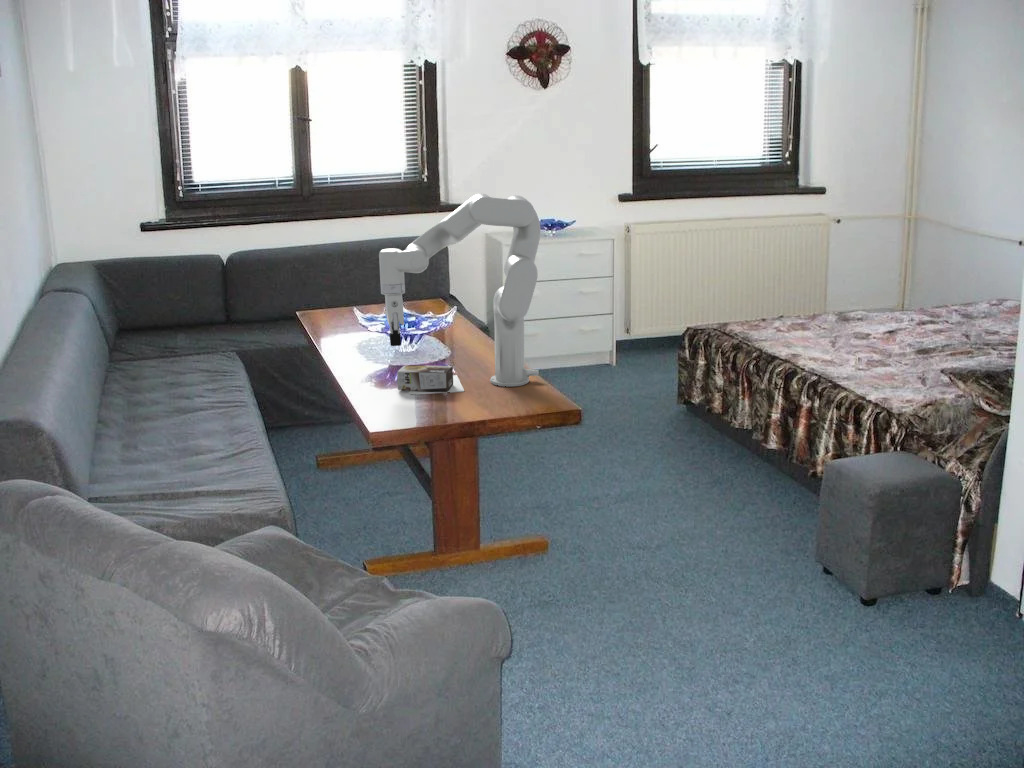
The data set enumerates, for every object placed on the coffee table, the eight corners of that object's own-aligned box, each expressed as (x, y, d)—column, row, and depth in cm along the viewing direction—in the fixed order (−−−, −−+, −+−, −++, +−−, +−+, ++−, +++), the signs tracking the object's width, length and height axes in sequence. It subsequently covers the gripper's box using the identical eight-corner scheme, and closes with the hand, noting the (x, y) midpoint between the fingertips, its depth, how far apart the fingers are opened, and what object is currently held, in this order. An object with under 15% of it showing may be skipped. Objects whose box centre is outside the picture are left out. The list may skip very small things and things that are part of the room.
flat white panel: (456, 376, 367) (456, 375, 367) (464, 391, 350) (464, 390, 350) (405, 379, 365) (405, 377, 364) (410, 394, 348) (410, 393, 348)
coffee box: (397, 390, 350) (446, 392, 347) (396, 371, 349) (446, 373, 346) (405, 383, 359) (453, 385, 356) (404, 364, 357) (453, 365, 354)
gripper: (406, 292, 340) (409, 350, 345) (402, 283, 354) (405, 338, 359) (382, 293, 339) (385, 351, 344) (379, 284, 353) (382, 340, 358)
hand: (395, 345), depth 352 cm, fingers closed
